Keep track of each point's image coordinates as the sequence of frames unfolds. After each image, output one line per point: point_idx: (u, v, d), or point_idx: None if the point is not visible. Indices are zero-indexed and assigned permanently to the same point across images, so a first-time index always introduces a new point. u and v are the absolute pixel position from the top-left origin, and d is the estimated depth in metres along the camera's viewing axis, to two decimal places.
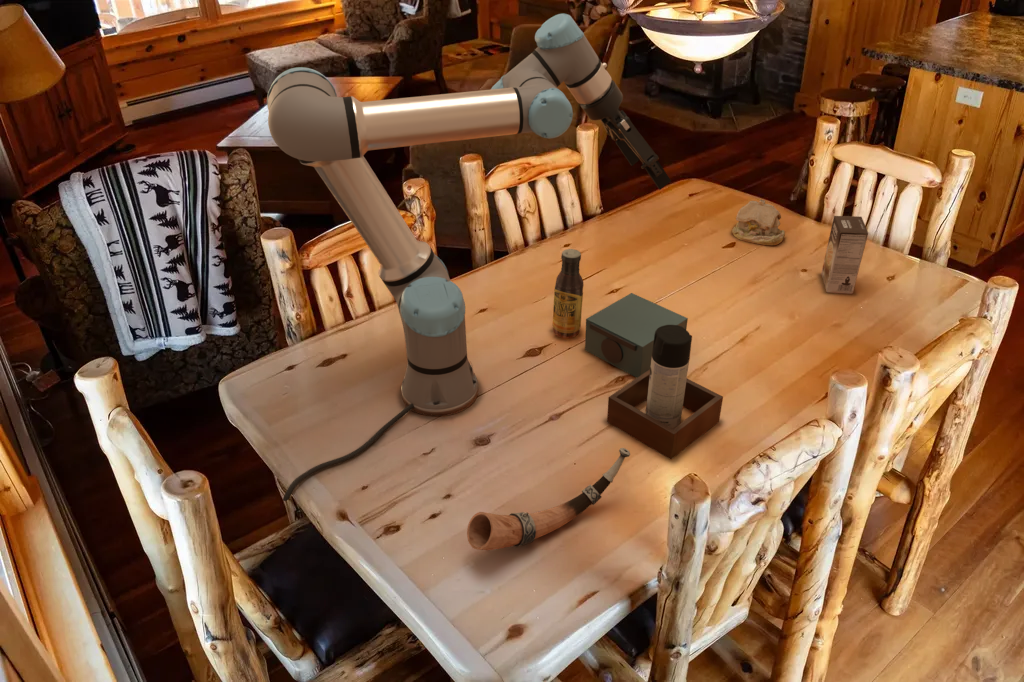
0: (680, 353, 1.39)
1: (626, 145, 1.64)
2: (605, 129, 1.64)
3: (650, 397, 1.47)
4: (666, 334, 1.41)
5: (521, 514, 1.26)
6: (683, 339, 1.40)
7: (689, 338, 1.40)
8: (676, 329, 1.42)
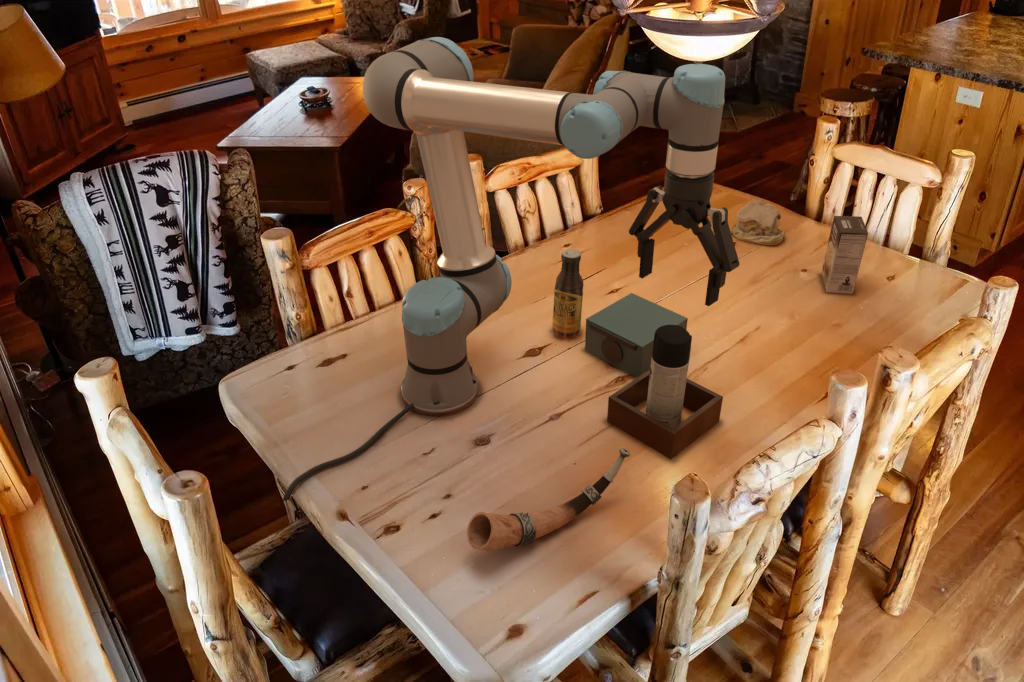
0: (680, 353, 1.39)
1: (649, 252, 1.38)
2: (633, 226, 1.36)
3: (650, 397, 1.47)
4: (666, 334, 1.41)
5: (521, 514, 1.26)
6: (683, 339, 1.40)
7: (689, 338, 1.40)
8: (676, 329, 1.42)
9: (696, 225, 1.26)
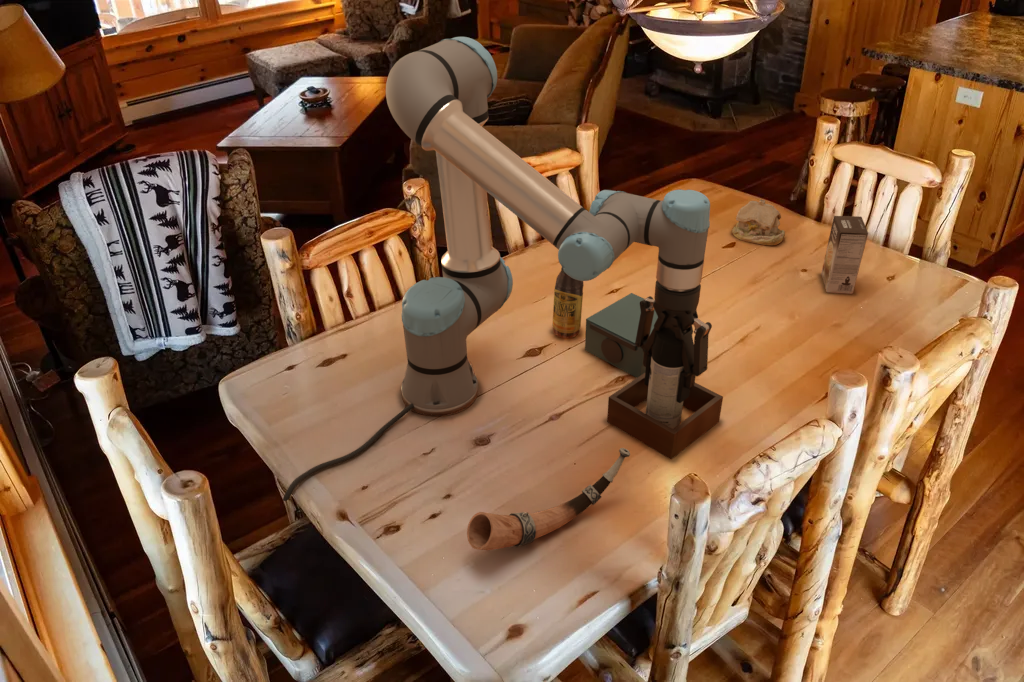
0: (680, 353, 1.39)
1: None
2: (637, 338, 1.46)
3: (650, 397, 1.47)
4: (666, 334, 1.41)
5: (521, 514, 1.26)
6: None
7: None
8: None
9: (680, 333, 1.37)
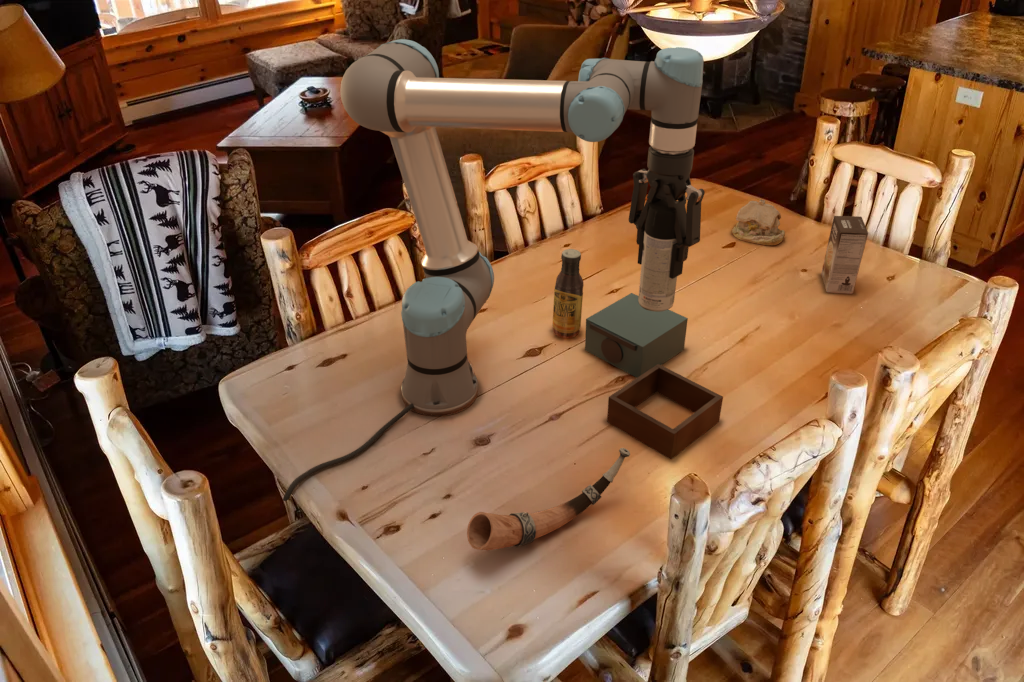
0: (672, 223, 1.38)
1: None
2: (630, 213, 1.45)
3: (643, 275, 1.46)
4: (659, 205, 1.39)
5: (521, 514, 1.26)
6: None
7: None
8: None
9: (673, 201, 1.36)
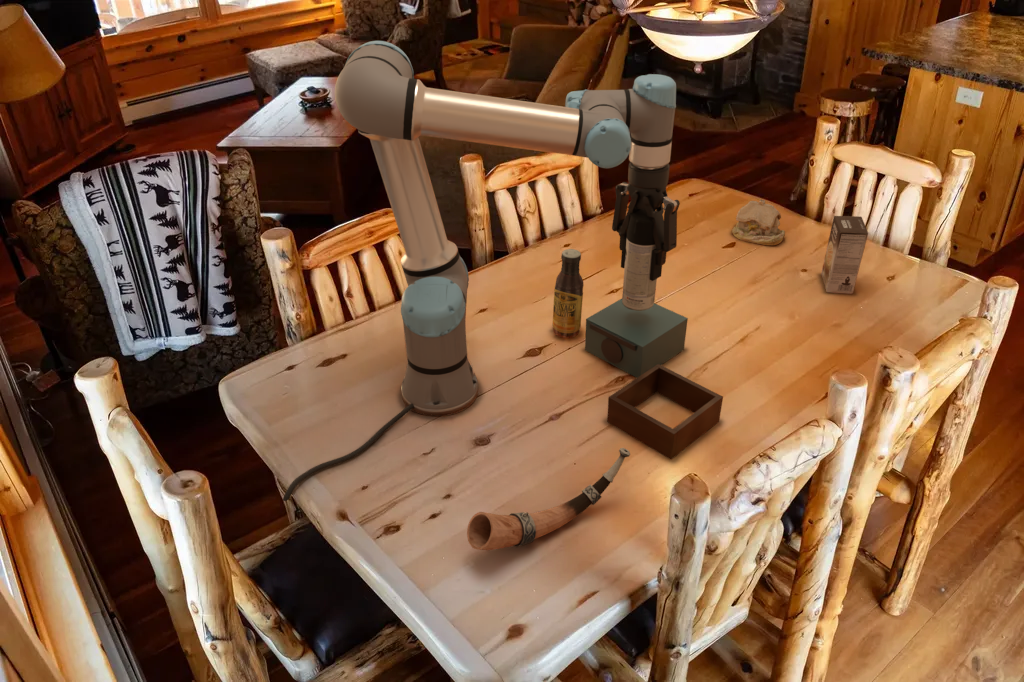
0: (651, 231, 1.53)
1: None
2: (614, 222, 1.60)
3: (625, 277, 1.61)
4: (639, 215, 1.54)
5: (521, 514, 1.26)
6: None
7: None
8: None
9: (651, 211, 1.51)
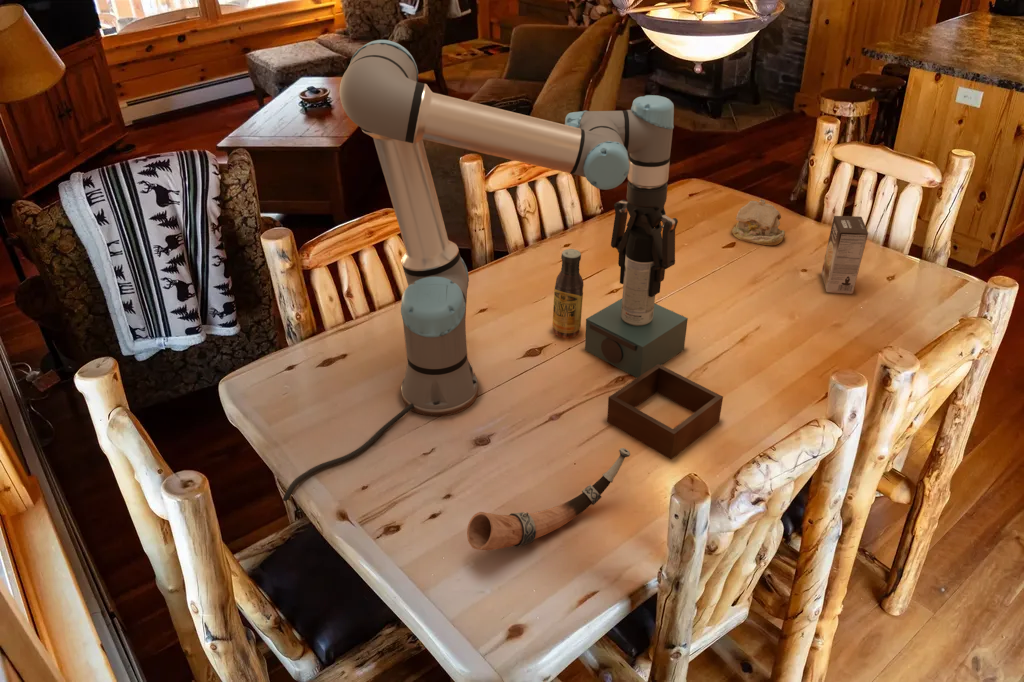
0: (650, 248, 1.55)
1: None
2: (612, 239, 1.62)
3: (624, 293, 1.63)
4: (638, 232, 1.56)
5: (521, 514, 1.26)
6: None
7: None
8: None
9: (650, 229, 1.53)
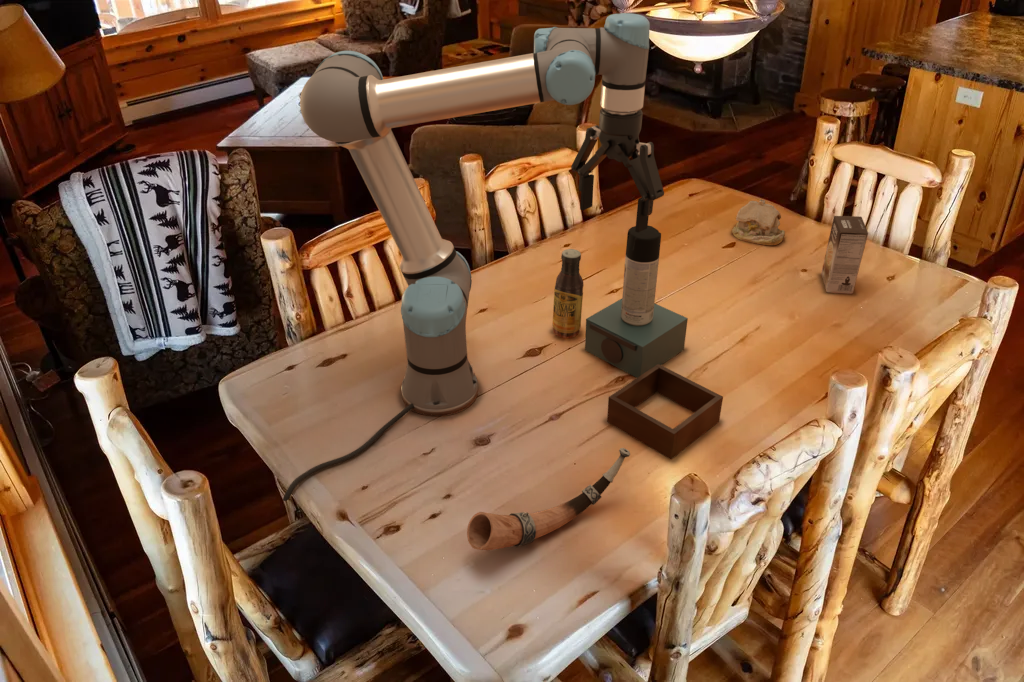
0: (650, 248, 1.55)
1: (589, 186, 1.55)
2: (574, 162, 1.53)
3: (624, 293, 1.63)
4: None
5: (521, 514, 1.26)
6: (653, 235, 1.55)
7: (658, 235, 1.55)
8: (647, 228, 1.58)
9: (626, 158, 1.43)
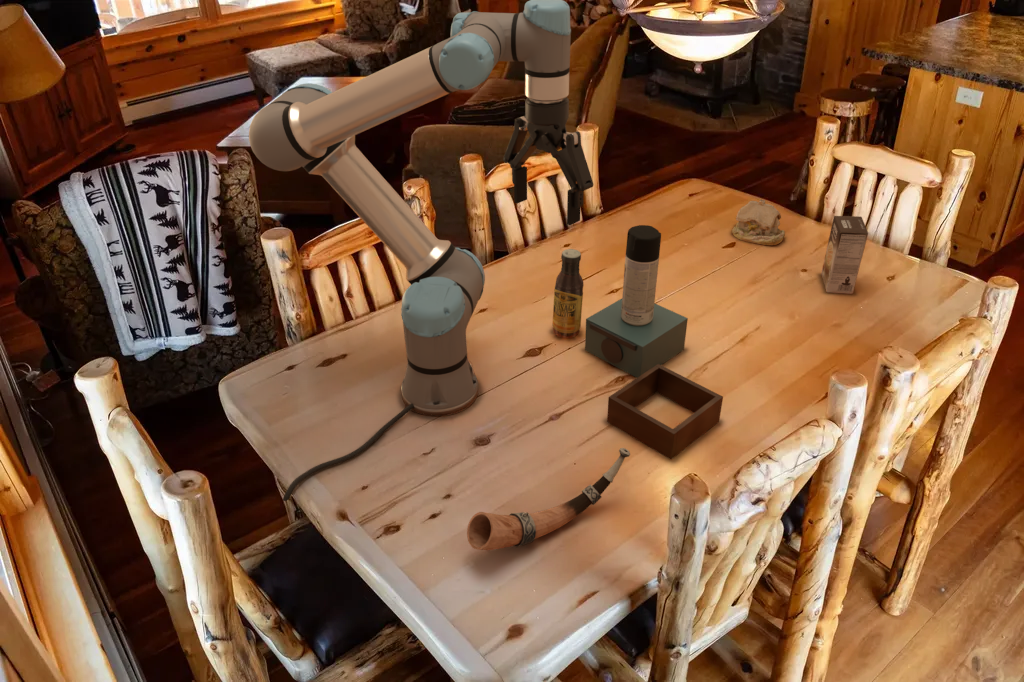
0: (650, 248, 1.55)
1: (522, 178, 1.51)
2: (506, 154, 1.49)
3: (624, 293, 1.63)
4: (638, 232, 1.56)
5: (521, 514, 1.26)
6: (653, 235, 1.55)
7: (658, 235, 1.55)
8: (647, 228, 1.58)
9: (554, 148, 1.39)
